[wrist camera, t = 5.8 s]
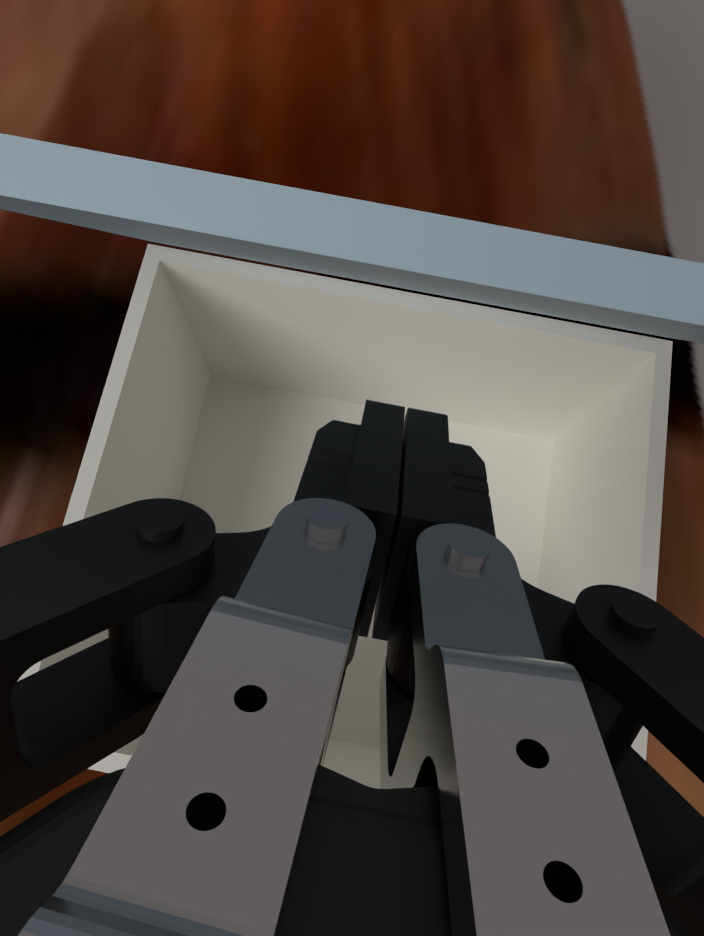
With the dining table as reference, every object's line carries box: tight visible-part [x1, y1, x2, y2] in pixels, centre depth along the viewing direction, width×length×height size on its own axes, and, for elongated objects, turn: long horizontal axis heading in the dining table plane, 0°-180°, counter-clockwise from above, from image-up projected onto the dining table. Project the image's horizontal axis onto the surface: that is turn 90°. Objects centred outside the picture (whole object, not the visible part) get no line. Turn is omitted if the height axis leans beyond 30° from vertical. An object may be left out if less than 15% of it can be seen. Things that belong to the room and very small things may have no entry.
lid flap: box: [0, 133, 704, 343], centre depth 15 cm, size 18×20×1 cm
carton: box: [18, 244, 673, 789], centre depth 28 cm, size 18×20×12 cm
